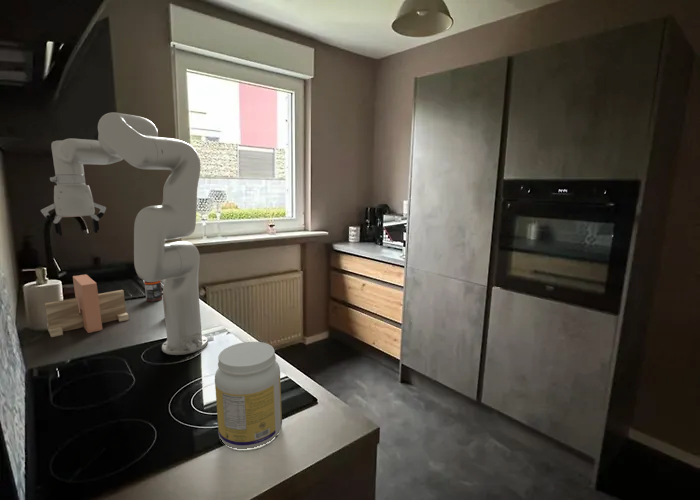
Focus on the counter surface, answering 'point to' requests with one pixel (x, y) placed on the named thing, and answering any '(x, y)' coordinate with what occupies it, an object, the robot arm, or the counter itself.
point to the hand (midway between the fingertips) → (78, 233)
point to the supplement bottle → (153, 291)
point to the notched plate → (88, 302)
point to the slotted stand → (69, 318)
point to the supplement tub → (248, 395)
